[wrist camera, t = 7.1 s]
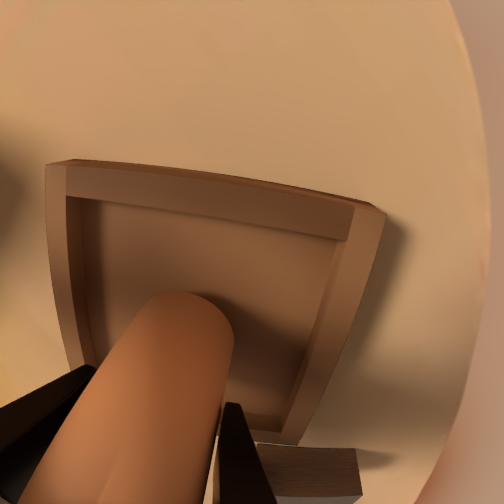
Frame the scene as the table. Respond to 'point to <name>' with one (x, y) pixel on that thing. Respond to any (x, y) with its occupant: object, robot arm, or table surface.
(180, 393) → the pin
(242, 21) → the table surface
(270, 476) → the hitch bracket
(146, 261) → the tray
